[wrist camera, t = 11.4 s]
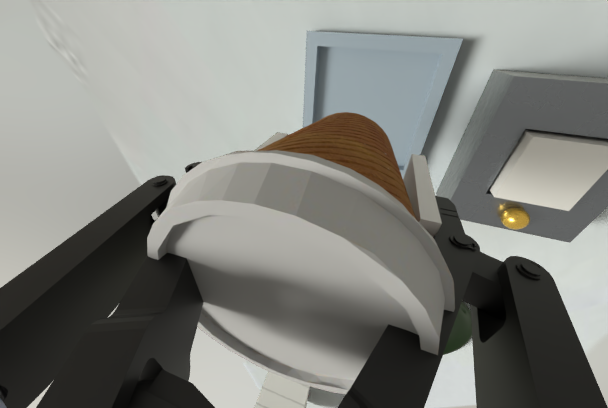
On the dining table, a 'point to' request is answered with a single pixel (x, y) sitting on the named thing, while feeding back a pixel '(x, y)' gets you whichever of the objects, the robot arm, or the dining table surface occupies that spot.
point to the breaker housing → (504, 136)
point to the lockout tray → (379, 82)
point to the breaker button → (551, 169)
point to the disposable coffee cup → (307, 252)
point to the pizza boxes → (282, 393)
